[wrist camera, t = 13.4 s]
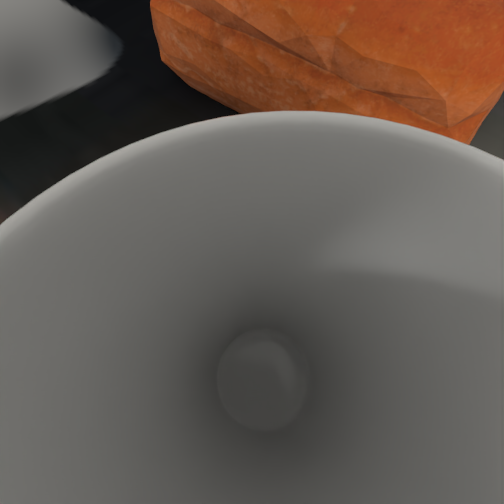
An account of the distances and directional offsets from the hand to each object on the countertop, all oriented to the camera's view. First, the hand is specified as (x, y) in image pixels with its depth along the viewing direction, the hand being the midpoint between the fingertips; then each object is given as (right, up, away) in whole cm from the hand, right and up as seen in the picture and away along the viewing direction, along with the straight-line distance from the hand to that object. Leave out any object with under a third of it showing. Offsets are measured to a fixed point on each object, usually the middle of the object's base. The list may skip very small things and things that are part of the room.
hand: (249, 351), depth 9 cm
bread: (+6, +18, +16) cm, 25 cm away
